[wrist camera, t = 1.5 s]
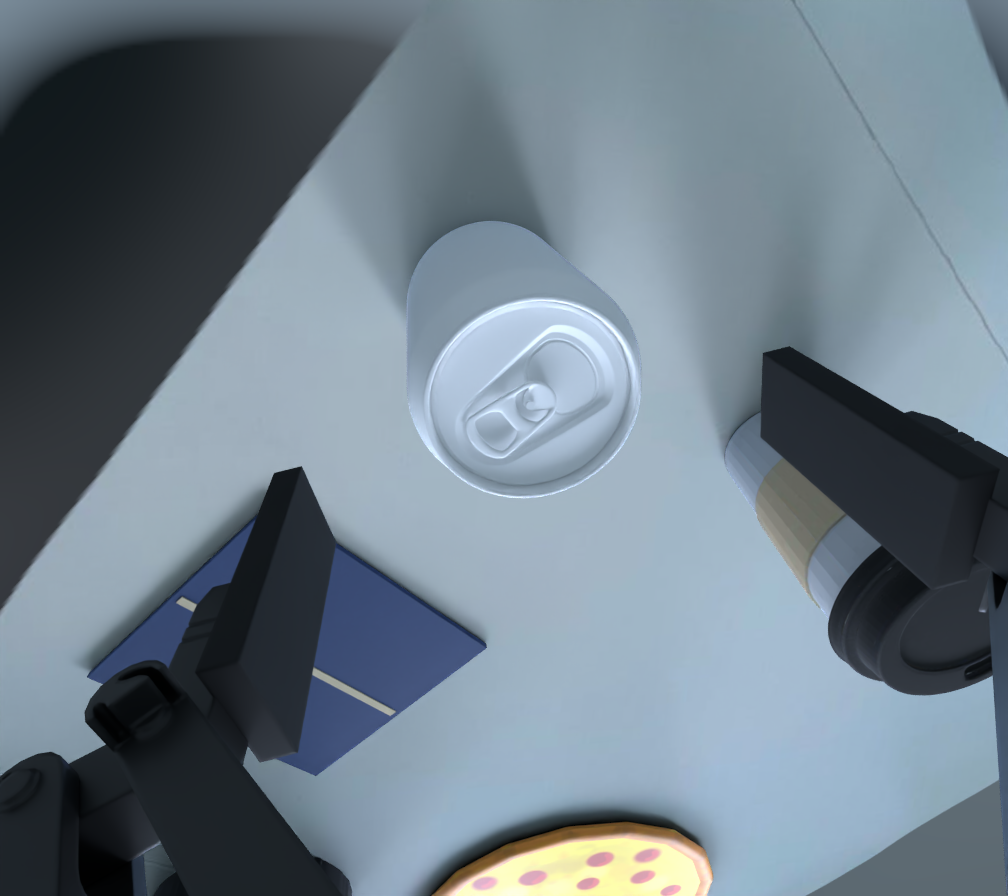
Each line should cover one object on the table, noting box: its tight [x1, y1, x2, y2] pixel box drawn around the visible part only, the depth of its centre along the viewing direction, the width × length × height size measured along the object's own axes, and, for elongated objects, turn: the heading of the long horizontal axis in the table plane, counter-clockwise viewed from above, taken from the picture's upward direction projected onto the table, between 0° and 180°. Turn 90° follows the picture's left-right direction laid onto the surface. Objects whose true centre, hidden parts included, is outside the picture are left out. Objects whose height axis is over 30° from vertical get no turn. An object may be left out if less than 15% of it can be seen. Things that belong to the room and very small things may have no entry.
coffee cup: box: [725, 412, 993, 695], centre depth 29 cm, size 9×9×15 cm
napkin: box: [87, 514, 487, 776], centre depth 38 cm, size 18×18×1 cm
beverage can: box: [407, 221, 641, 498], centre depth 24 cm, size 8×8×12 cm
